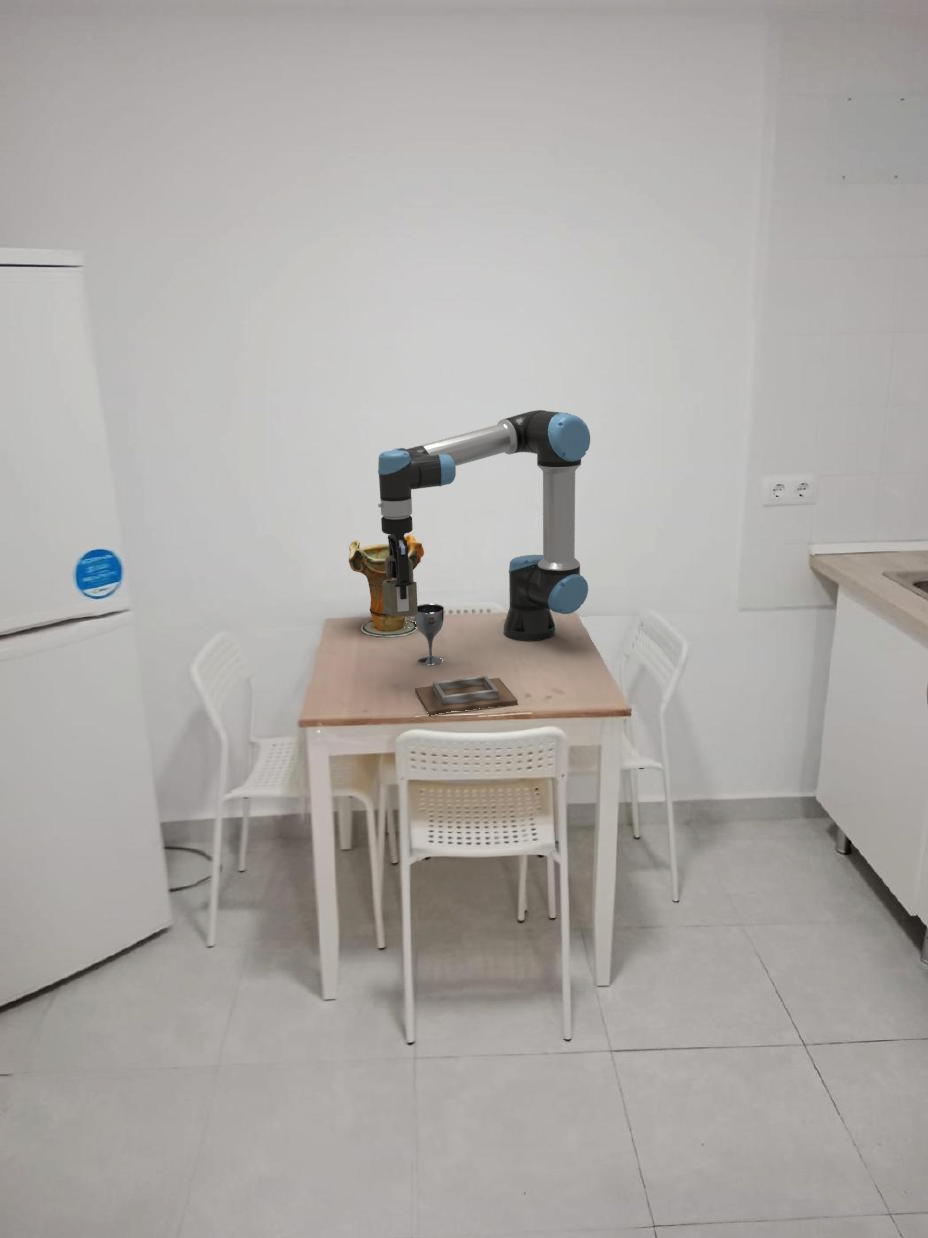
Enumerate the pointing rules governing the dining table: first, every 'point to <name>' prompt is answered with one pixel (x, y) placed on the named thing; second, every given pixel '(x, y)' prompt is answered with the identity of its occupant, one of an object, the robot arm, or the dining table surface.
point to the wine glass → (430, 628)
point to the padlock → (391, 592)
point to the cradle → (465, 695)
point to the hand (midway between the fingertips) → (400, 606)
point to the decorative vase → (373, 568)
